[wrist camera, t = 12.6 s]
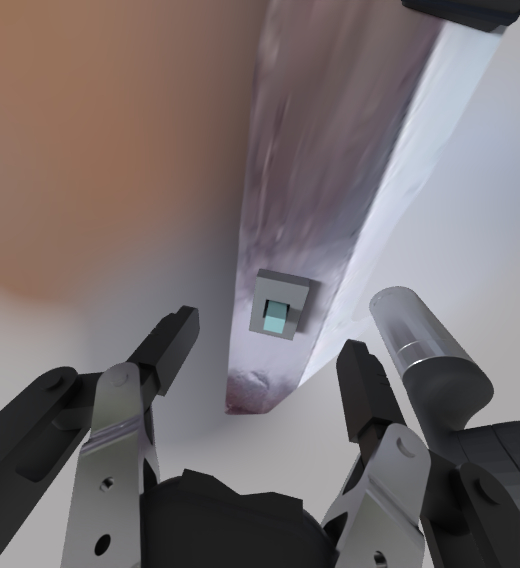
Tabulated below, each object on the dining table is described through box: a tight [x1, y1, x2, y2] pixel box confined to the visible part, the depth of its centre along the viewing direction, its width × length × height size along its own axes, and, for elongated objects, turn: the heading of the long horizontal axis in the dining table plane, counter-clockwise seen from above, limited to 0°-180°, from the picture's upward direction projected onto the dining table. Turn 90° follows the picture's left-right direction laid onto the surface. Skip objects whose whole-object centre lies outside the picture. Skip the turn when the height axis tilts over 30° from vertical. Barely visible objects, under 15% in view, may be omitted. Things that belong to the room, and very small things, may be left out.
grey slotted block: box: [249, 269, 310, 340], centre depth 46 cm, size 16×11×4 cm
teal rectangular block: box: [263, 300, 287, 334], centre depth 44 cm, size 4×4×8 cm
